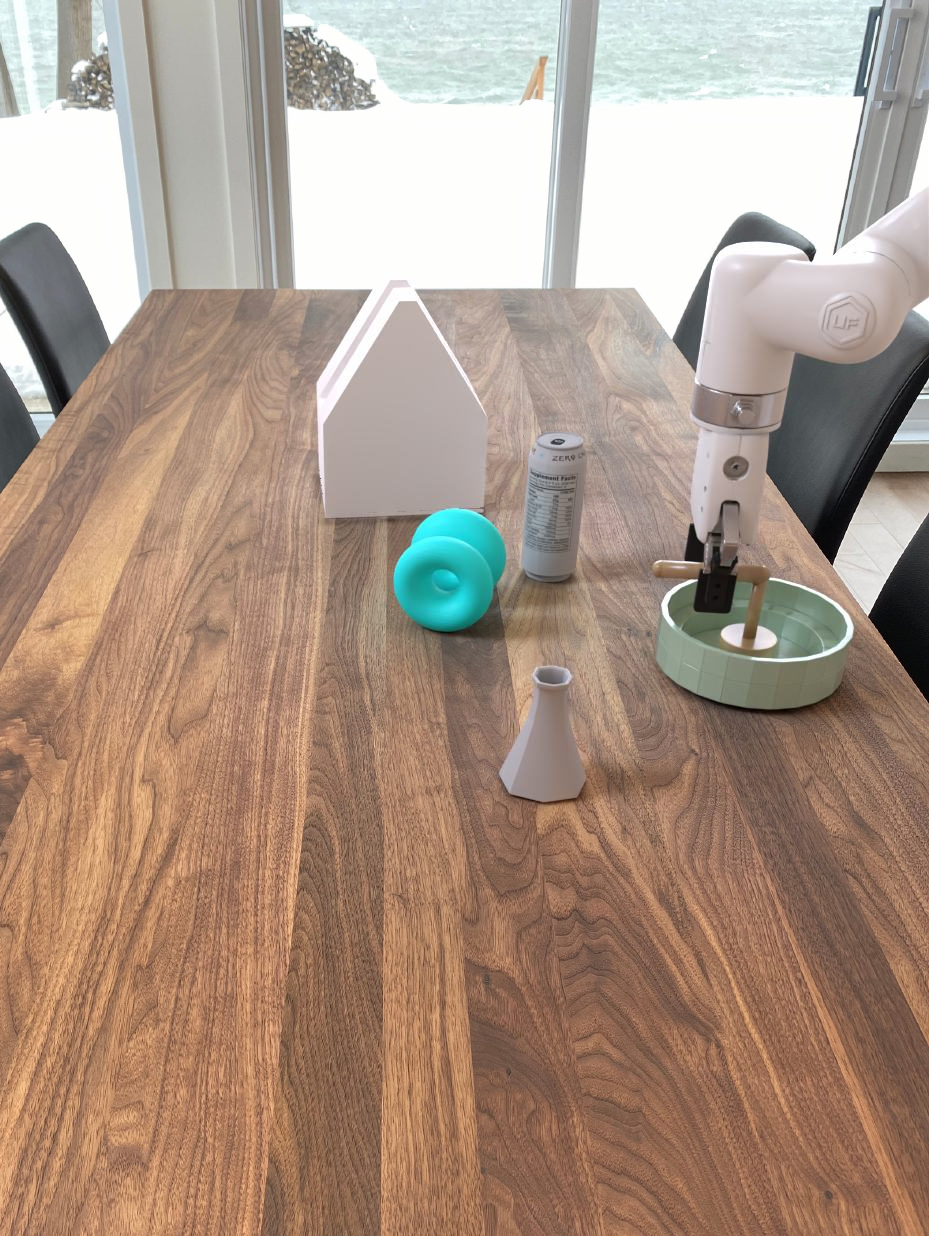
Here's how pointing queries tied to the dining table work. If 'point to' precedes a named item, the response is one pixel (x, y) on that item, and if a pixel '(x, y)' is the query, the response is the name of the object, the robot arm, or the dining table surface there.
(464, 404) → the milk carton
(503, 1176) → the dining table surface
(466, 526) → the turquoise spool
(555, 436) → the energy drink can
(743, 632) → the wooden hook stand
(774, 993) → the dining table surface
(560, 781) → the flask
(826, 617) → the bowl
